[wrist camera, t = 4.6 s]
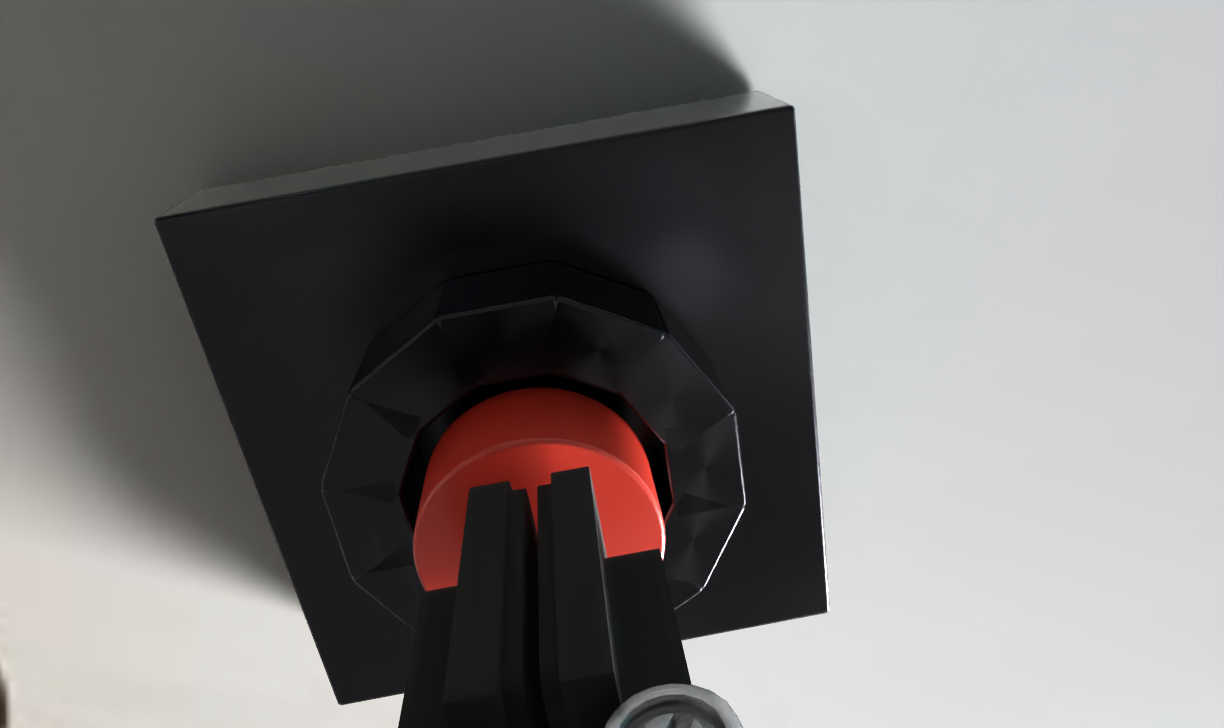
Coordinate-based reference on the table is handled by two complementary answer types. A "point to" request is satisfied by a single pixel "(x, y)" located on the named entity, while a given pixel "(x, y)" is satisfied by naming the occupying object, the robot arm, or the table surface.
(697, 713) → the robot arm
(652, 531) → the button
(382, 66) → the table surface
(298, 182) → the button block
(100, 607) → the table surface
